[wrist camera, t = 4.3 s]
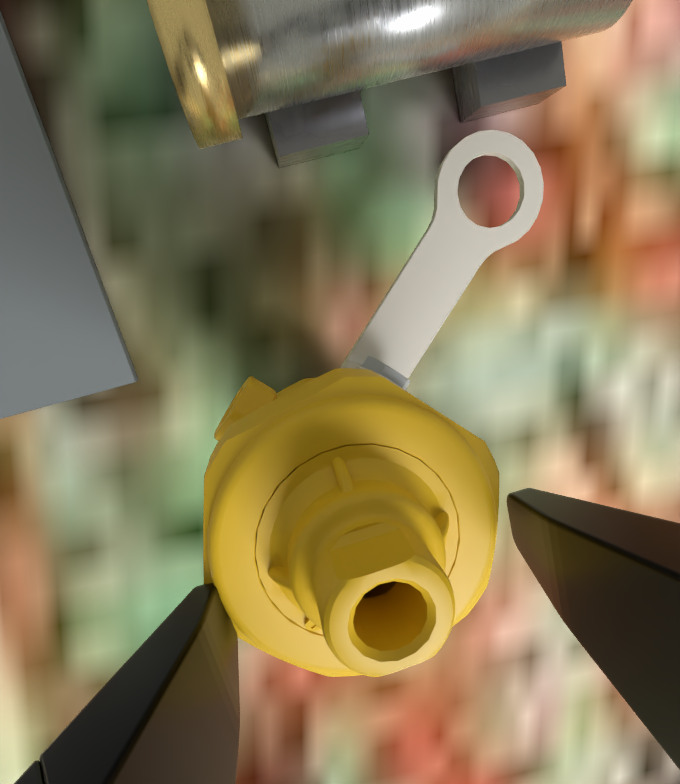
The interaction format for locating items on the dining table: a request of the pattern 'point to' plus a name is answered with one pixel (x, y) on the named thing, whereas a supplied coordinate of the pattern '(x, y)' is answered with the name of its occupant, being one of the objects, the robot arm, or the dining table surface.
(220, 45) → the shaft
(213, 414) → the dining table surface
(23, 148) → the seat mat
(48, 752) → the robot arm
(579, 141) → the dining table surface
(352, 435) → the pressure relief valve
